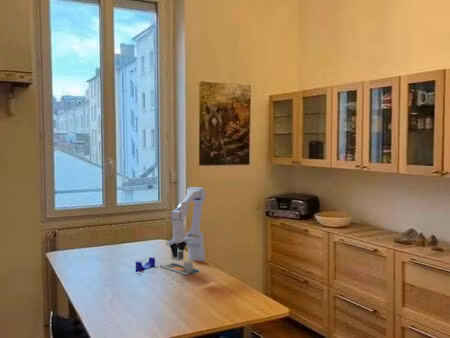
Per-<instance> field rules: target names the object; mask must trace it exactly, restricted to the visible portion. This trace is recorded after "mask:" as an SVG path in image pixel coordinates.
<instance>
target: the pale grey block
mask: <svg viewBox="0 0 450 338" xmlns="http://www.w3.org/2000/svg"><path fill="white" fill-rule="evenodd" d="M170 250H171V249H170ZM170 252H171V255H170V256H171V260H174V261H178V262H181V261H184V251H183V250H179V249H178V250H177V257H173V253H172V250H171V251H170Z"/></svg>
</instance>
